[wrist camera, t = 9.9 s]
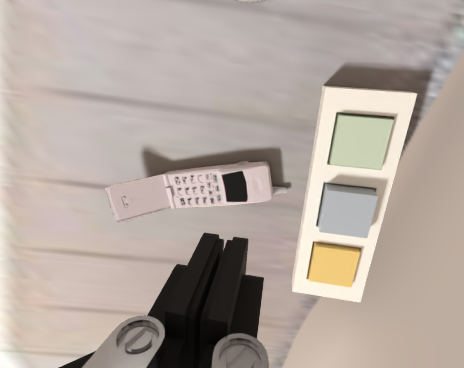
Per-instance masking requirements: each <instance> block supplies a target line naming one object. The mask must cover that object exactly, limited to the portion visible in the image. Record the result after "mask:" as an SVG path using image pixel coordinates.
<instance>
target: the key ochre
mask: <svg viewBox="0 0 464 368" xmlns="http://www.w3.org/2000/svg"><path fill="white" fill-rule="evenodd" d="M359 255H360V251H359V248H358V247H351V246H344V245H337V244H330V243H323V242H315V241H313V245H312V250H311V256H310V261H309V267H308V277H309V281H312V282H318V283H325V284H331V285H338V286H344V287H350V288H351V287H352V283H353V279H354V275H355V271H356V267H357V263H358V259H359Z"/></svg>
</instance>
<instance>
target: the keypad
mask: <svg viewBox="0 0 464 368" xmlns="http://www.w3.org/2000/svg"><path fill="white" fill-rule="evenodd" d="M416 97H417V93H413V92H409V91H396V90H382V89H367V88H352V87H337V86H323V89H322V95H321V101H320V107H319V114H318V120H317V126H316V132H315V139H314V145H313V151H312V158H311V164H310V170H309V176H308V183H307V189H306V195H305V201H304V208H303V214H302V220H301V226H300V233H299V239H298V245H297V251H296V258H295V264H294V270H293V277H292V291H293V292H299V293H305V294H312V295H318V296H324V297H330V298H336V299H342V300H349V301H355V302H360V301H361V298H362V294H363V290H364V287H365V283H366V279H367V276H368V272H369V268H370V265H371V261H372V258H373V253H374V250H375V247H376V243H377V239H378V236H379V232H380V228H381V225H382V221H383V217H384V214H385V210H386V206H387V203H388V199H389V196H390V191H391V188H392V185H393V180H394V177H395V174H396V170H397V166H398V163H399V159H400V155H401V152H402V148H403V144H404V141H405V137H406V133H407V130H408V126H409V122H410V119H411V115H412V112H413V108H414V104H415V101H416ZM336 113H349V114H361V115H374V116H386V117H389V118H391V119H393V120H394V121H393V125H392V129H391V133H390V137H389V141H388V145H387V149H386V153H385V157H384V161H383V165H382V169H381V170H380V169H370V168H361V167H351V166H341V165H332V164H330V162H329V160H328V157H329V151H330V145H331V140H332V134H333V129H334V123H335V118H336ZM325 183H329V184H338V185H347V186H356V187H365V188H373V189H374V191H375V192H376V194H377V195H378V199H377V203H376V207H375V210H374V214H373V218H372V222H371V226H370V230H369V234H368V237H367V238H360V237H352V236H345V235H337V234H330V233H323V232H319V226H318V220H319V215H320V209H321V204H322V198H323V193H324V187H325ZM313 241H315V242H323V243H330V244H337V245H344V246H351V247H358V248H359V251H360V255H359V259H358V263H357V267H356V271H355V275H354V279H353V283H352V287H351V288H350V287H344V286H338V285H331V284H325V283H318V282H312V281H309V277H308V267H309V261H310V256H311V250H312V245H313Z"/></svg>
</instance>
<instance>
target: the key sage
mask: <svg viewBox="0 0 464 368" xmlns="http://www.w3.org/2000/svg"><path fill="white" fill-rule="evenodd" d="M393 121H394V120H393V119H391V118H389V117H386V116H374V115H361V114H349V113H336V118H335V123H334V129H333V134H332V140H331V145H330V151H329V157H328V160H329V162H330V164H332V165H341V166H351V167H361V168H370V169H380V170H381V169H382V165H383V161H384V157H385V153H386V149H387V145H388V141H389V137H390V133H391V129H392V125H393Z"/></svg>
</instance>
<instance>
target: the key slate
mask: <svg viewBox="0 0 464 368" xmlns="http://www.w3.org/2000/svg"><path fill="white" fill-rule="evenodd" d="M377 199H378V195H377V194H376V192H375V191H374V189H373V188H365V187H356V186H347V185H338V184H329V183H325V187H324V193H323V198H322V204H321V209H320V215H319V220H318V226H319V232H323V233H330V234H337V235H345V236H352V237H360V238H367V237H368V234H369V230H370V226H371V222H372V218H373V214H374V210H375V207H376V203H377Z"/></svg>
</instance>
